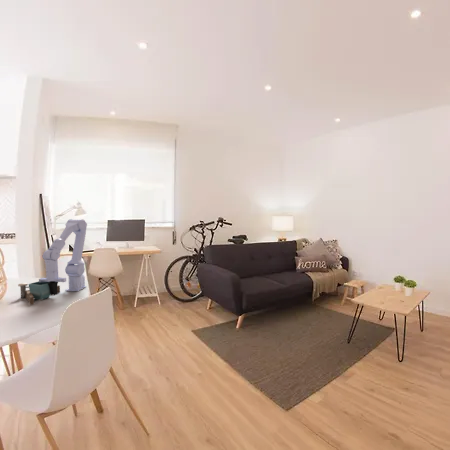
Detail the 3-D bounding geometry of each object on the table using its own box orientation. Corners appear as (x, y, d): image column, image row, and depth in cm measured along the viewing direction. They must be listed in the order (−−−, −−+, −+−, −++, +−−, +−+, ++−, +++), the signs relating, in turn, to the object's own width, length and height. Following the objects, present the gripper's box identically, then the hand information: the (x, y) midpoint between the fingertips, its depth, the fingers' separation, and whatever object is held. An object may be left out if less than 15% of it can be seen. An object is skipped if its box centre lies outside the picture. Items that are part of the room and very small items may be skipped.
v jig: (34, 291, 165) (34, 278, 165) (61, 291, 165) (60, 279, 164) (2, 304, 142) (1, 289, 142) (32, 305, 142) (31, 290, 141)
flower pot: (54, 296, 156) (54, 281, 155) (41, 301, 147) (40, 285, 147) (42, 295, 158) (42, 280, 157) (28, 300, 149) (27, 284, 149)
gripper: (34, 272, 149) (35, 296, 150) (60, 272, 149) (61, 296, 150) (43, 269, 156) (44, 292, 157) (67, 269, 156) (69, 292, 157)
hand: (53, 294), depth 154 cm, fingers closed, pressing on flower pot
